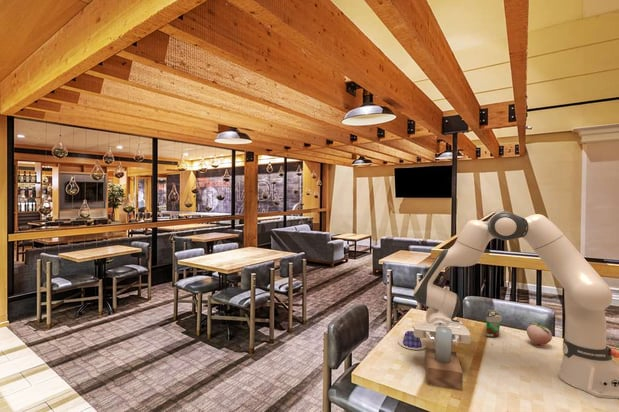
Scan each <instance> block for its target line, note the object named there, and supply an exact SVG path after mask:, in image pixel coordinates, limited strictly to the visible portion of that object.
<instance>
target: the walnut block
mask: <svg viewBox="0 0 619 412" xmlns="http://www.w3.org/2000/svg"><path fill="white" fill-rule="evenodd" d="M424 350H425V351H424V352H425V353H424V354H425V355H424V365H425V372H426V373H425V374H426V380H427V385H430V386H435V387H442V388H447V389H448V388H449V389H452V388H453V390H460V391H463V385H464V384H463V381H464V379H463V377H464V374H463V373H464V372H463V369H462V366H461V364H460V360H459V359H458V358H459V357H458V355H457V352H456V351H452V350H451V362H450V363H442V362H439V361H437V360H436V359H435V348H430V347H425V348H424Z"/></svg>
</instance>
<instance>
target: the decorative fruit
mask: <svg viewBox="0 0 619 412" xmlns="http://www.w3.org/2000/svg"><path fill="white" fill-rule="evenodd" d="M529 324H530V325H529V326H527V329H526V334H527V336H528V338H529V340H530V341H532V342H533V343H535V344H537V346H543V345H547V344H549V343H550V342H551V341H552V339H553V334H552V331H551V330H550V329H549V328H547V327H546V326H543V325H540V324H541V323H540V322H538V323H537V322H530V323H529Z"/></svg>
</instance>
